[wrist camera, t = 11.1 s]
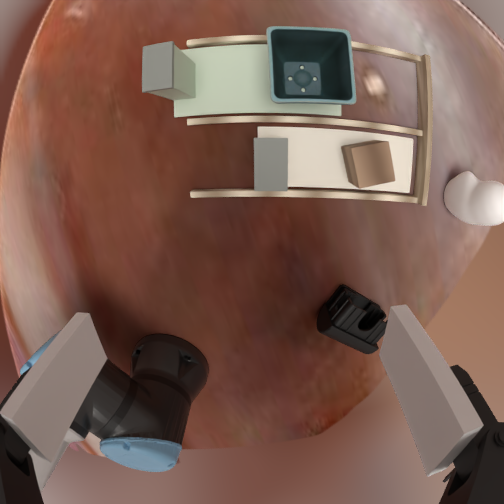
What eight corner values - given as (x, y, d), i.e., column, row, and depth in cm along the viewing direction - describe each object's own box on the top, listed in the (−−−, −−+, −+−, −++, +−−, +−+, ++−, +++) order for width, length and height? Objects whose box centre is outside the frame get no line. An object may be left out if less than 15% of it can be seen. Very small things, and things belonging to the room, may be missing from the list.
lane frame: (193, 195, 40) (187, 200, 37) (189, 43, 31) (184, 37, 28) (416, 200, 38) (426, 205, 35) (420, 59, 30) (429, 55, 27)
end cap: (313, 314, 46) (318, 340, 40) (339, 281, 44) (349, 305, 38) (356, 336, 48) (366, 361, 42) (382, 307, 46) (396, 331, 39)
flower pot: (265, 48, 31) (265, 25, 23) (332, 50, 30) (350, 29, 22) (269, 110, 34) (270, 102, 26) (336, 110, 34) (356, 104, 25)
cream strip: (257, 185, 39) (254, 205, 29) (257, 126, 36) (253, 123, 25) (407, 192, 38) (447, 213, 28) (411, 138, 35) (454, 144, 24)
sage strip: (174, 117, 35) (142, 113, 25) (174, 52, 32) (144, 28, 21) (340, 116, 34) (367, 110, 24) (338, 49, 31) (363, 23, 20)
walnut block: (348, 181, 37) (359, 188, 33) (340, 146, 36) (351, 148, 31) (381, 174, 37) (395, 181, 32) (374, 139, 35) (388, 141, 30)
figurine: (478, 178, 36) (525, 196, 25) (464, 220, 39) (508, 247, 28) (449, 162, 35) (498, 177, 24) (435, 207, 38) (480, 233, 27)
